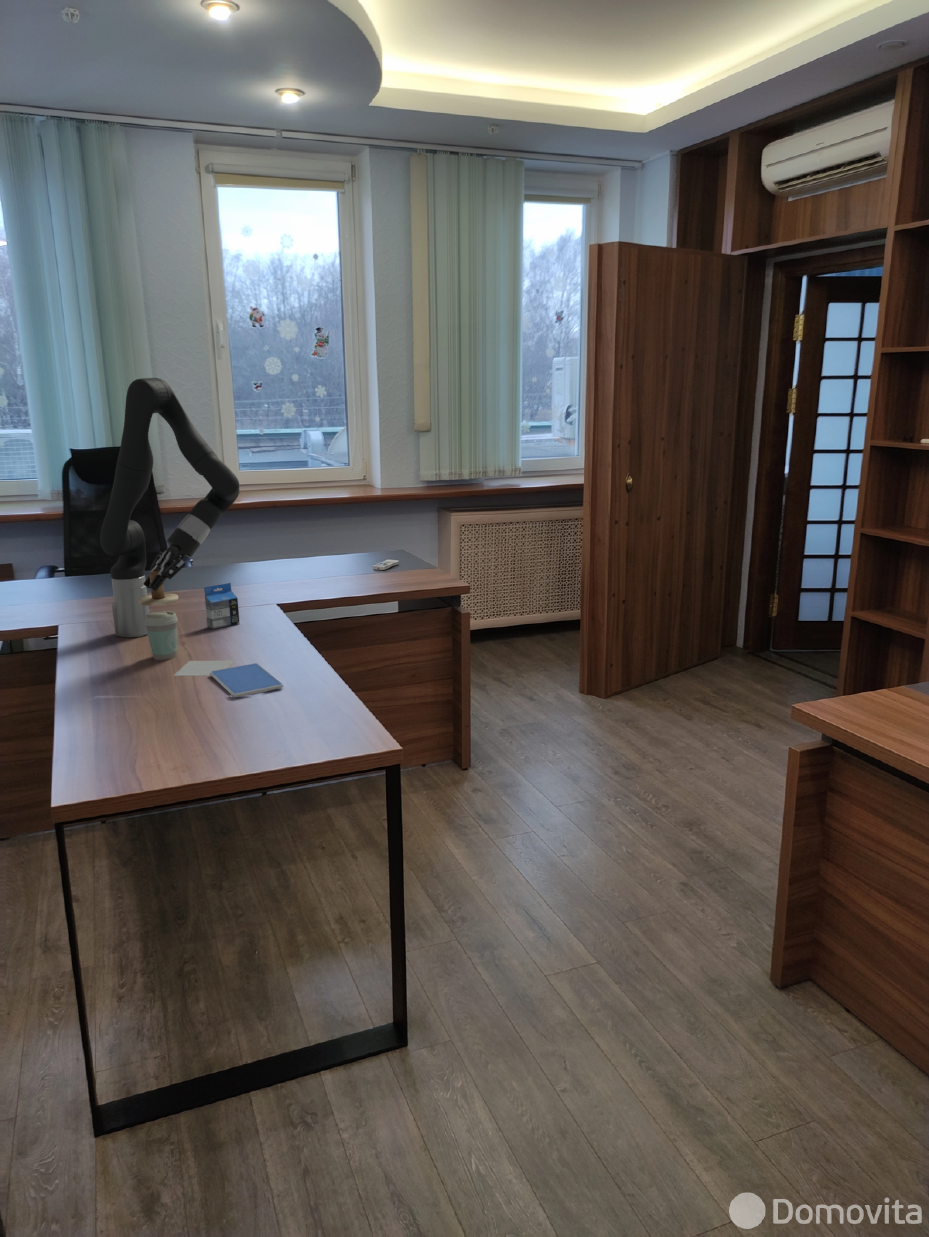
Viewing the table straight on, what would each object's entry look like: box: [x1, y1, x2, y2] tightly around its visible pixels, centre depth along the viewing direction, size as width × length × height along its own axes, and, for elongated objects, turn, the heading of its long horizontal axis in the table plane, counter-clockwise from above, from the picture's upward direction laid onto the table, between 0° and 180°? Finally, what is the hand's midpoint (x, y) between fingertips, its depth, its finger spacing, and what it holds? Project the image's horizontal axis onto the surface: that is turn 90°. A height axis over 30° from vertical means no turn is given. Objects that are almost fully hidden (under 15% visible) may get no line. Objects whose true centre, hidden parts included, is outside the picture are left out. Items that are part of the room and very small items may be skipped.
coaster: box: [173, 660, 235, 677], centre depth 225 cm, size 12×12×1 cm
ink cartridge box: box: [203, 582, 241, 630], centre depth 264 cm, size 9×4×12 cm, turn 131°
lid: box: [138, 570, 179, 607], centre depth 230 cm, size 10×10×8 cm
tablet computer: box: [210, 663, 284, 698], centre depth 214 cm, size 19×13×1 cm, turn 32°
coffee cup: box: [144, 610, 179, 661], centre depth 234 cm, size 9×9×12 cm
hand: (149, 587), depth 229 cm, fingers closed on lid, 3 cm apart
